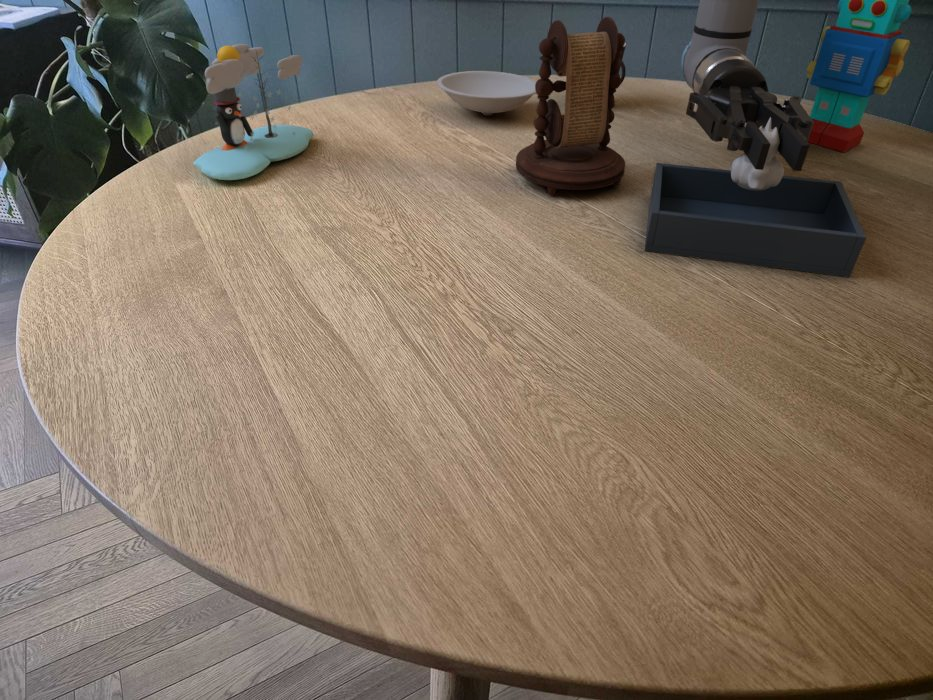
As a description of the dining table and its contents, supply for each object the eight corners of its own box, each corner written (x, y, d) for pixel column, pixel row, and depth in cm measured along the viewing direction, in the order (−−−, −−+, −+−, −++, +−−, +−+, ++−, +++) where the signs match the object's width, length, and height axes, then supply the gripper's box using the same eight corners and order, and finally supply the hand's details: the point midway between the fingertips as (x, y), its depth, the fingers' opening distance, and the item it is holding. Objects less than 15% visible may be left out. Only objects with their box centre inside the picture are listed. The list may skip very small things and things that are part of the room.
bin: (827, 217, 82) (841, 181, 79) (849, 277, 71) (866, 237, 68) (649, 197, 86) (656, 162, 83) (644, 251, 75) (651, 212, 72)
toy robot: (782, 135, 105) (837, -48, 89) (800, 126, 108) (856, -51, 93) (855, 155, 98) (928, -38, 83) (872, 146, 101) (946, -42, 86)
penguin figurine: (237, 191, 87) (210, 71, 78) (179, 175, 91) (147, 59, 82) (330, 143, 101) (317, 36, 92) (277, 131, 105) (259, 27, 96)
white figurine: (775, 181, 77) (796, 112, 72) (779, 205, 72) (801, 132, 67) (726, 176, 78) (743, 107, 73) (727, 199, 73) (745, 127, 68)
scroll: (540, 207, 84) (554, 37, 72) (499, 163, 95) (505, 10, 83) (642, 192, 87) (672, 28, 75) (592, 152, 99) (610, 3, 86)
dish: (422, 119, 110) (420, 88, 107) (458, 95, 120) (458, 66, 117) (521, 135, 104) (522, 102, 101) (550, 108, 114) (552, 78, 111)
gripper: (784, 119, 87) (850, 195, 69) (660, 115, 88) (693, 188, 70) (802, 59, 83) (879, 123, 64) (671, 55, 84) (709, 117, 65)
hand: (782, 157), depth 67 cm, fingers closed on white figurine, 3 cm apart
